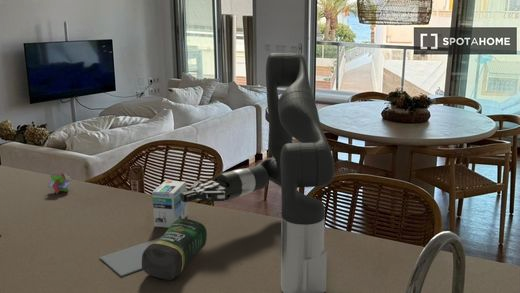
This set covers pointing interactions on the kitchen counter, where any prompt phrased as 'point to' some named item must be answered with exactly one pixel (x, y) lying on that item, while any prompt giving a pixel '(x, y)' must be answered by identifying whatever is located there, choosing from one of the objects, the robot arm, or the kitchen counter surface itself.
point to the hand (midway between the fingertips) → (182, 198)
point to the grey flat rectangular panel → (127, 259)
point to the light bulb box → (169, 203)
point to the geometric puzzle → (60, 183)
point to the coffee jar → (174, 249)
